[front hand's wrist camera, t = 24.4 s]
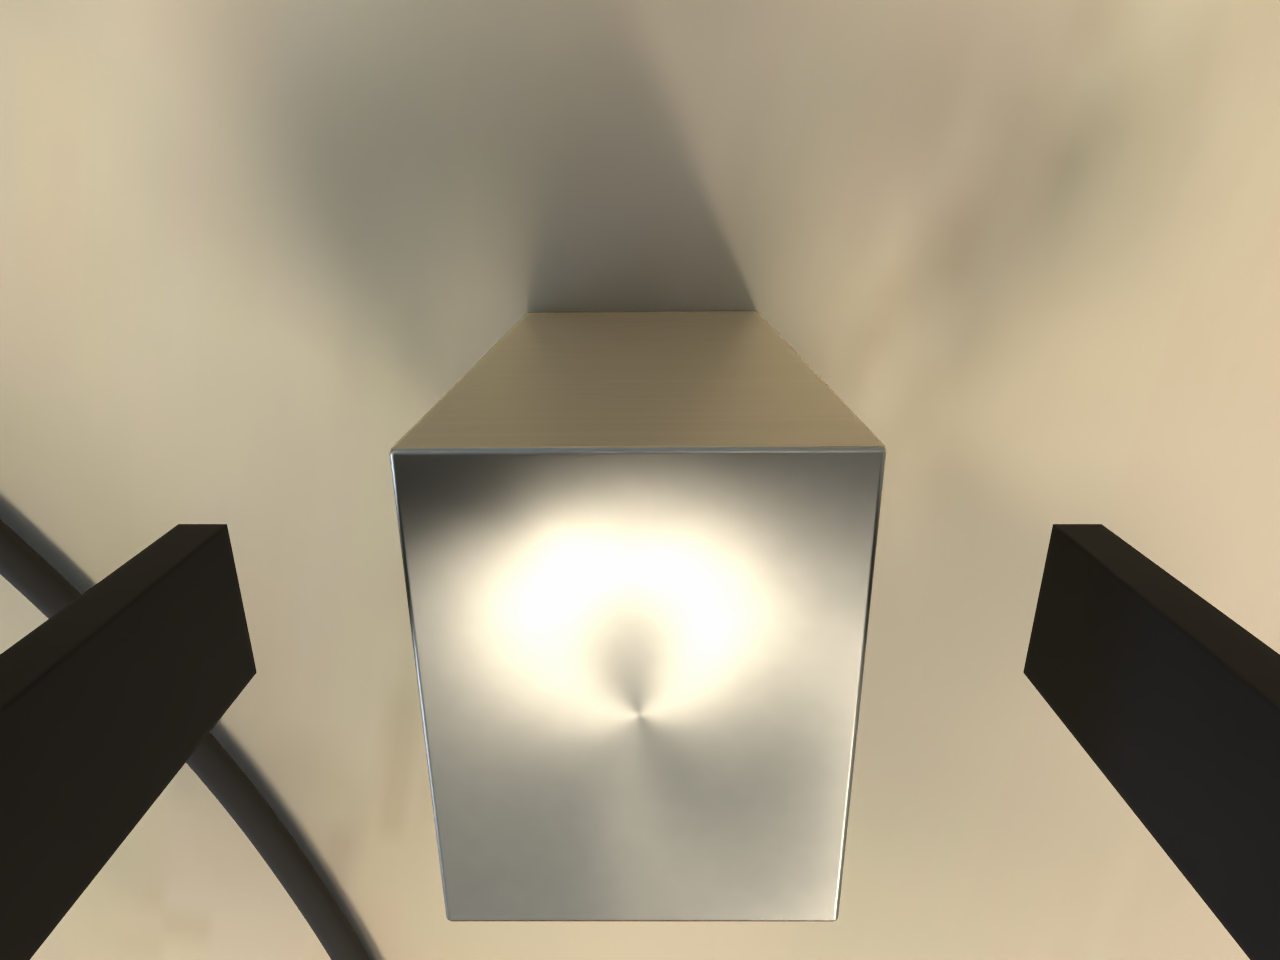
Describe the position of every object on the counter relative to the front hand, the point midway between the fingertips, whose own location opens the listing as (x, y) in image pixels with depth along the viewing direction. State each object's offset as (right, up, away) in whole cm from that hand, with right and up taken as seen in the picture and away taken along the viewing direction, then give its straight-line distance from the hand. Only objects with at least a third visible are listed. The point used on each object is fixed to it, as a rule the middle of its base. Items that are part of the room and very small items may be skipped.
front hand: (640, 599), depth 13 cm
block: (0, +3, +8) cm, 9 cm away
